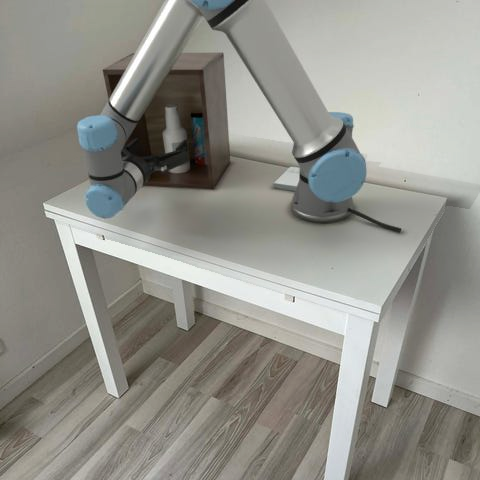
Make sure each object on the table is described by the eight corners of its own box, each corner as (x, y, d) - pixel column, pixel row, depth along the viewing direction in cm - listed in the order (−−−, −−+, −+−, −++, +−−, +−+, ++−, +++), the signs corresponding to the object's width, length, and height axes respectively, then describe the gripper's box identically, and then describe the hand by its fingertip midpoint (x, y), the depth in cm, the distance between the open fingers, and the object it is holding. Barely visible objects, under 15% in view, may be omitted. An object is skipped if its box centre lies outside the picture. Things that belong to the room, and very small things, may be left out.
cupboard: (213, 189, 136) (203, 69, 117) (126, 184, 141) (102, 69, 122) (230, 163, 150) (223, 52, 131) (150, 159, 156) (132, 53, 136)
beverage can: (199, 160, 153) (193, 110, 143) (217, 160, 151) (213, 110, 142) (193, 167, 148) (187, 116, 139) (212, 168, 147) (207, 116, 138)
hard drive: (273, 188, 135) (289, 171, 143) (301, 192, 132) (316, 174, 140) (273, 182, 133) (289, 165, 142) (301, 186, 130) (316, 169, 139)
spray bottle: (187, 174, 142) (179, 109, 131) (164, 173, 143) (155, 109, 132) (193, 165, 147) (186, 102, 136) (171, 164, 148) (163, 102, 137)
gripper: (85, 188, 119) (121, 155, 135) (181, 194, 114) (207, 159, 129) (77, 158, 114) (115, 128, 130) (177, 162, 109) (205, 131, 125)
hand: (161, 143), depth 130 cm, fingers open, 13 cm apart
